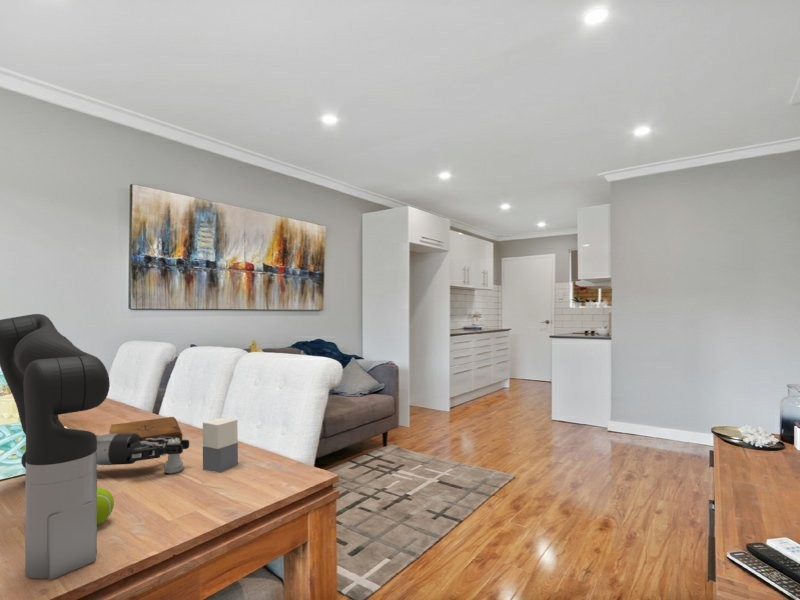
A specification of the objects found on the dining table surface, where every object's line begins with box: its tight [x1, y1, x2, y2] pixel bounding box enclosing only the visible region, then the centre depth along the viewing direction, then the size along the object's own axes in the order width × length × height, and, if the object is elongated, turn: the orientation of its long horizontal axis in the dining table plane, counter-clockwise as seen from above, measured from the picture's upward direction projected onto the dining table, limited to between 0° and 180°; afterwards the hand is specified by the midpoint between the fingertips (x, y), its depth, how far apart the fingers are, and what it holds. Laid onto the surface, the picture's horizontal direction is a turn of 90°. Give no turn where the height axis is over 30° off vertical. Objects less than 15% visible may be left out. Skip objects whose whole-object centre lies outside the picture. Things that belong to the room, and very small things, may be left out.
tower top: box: [202, 416, 239, 449], centre depth 113 cm, size 6×6×6 cm
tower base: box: [202, 443, 239, 473], centre depth 113 cm, size 6×6×6 cm
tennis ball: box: [97, 486, 115, 526], centre depth 82 cm, size 7×7×7 cm
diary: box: [108, 416, 183, 441], centre depth 135 cm, size 23×19×6 cm
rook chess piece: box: [163, 438, 184, 474], centre depth 111 cm, size 4×4×8 cm
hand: (185, 446), depth 111 cm, fingers closed on rook chess piece, 3 cm apart
